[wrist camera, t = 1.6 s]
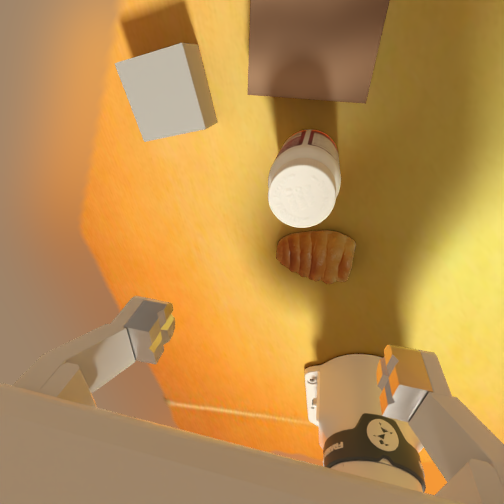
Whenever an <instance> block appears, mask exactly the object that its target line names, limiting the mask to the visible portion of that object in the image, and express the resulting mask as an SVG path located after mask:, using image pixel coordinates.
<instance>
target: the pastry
mask: <svg viewBox="0 0 504 504" xmlns="http://www.w3.org/2000/svg"><path fill="white" fill-rule="evenodd" d="M355 247H356V242H355V241H354V240H353V239H352V238H350V237H348V236H346V235H344V234H342V233H340V232H336V231H330V230H323V231H321V230H319V231H308V232H298V233H292V234H289V235H287V236H285V237H283V238H282V239H281V240H280V241H279V242H278V246H277V253H276V258H277V260H279V261H280V263H281V264H282V265H284V266H285V267H287V268H288V269H289V270H290V271H292V272H297V273H298V274H299V275H300V276H302V277H308V278H309V279H311V280H314V281H319V280H322V281H323V282H324V283H326V284H332V283H334V282H335V281H339V282H342V281H343V282H345V281H347V279H348V277H349V275H350V272H351V269H352V261H353V256H354V251H355Z"/></svg>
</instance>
